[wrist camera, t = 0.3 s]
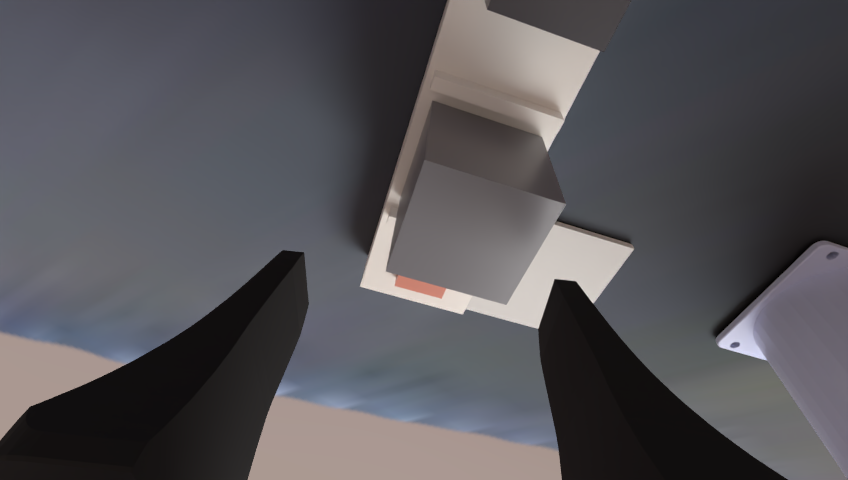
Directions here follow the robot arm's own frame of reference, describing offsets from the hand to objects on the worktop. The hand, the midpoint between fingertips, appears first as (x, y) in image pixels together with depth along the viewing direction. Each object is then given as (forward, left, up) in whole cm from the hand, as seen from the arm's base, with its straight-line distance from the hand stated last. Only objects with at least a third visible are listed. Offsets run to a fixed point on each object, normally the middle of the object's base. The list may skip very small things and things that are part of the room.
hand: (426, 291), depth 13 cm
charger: (-1, -1, -7) cm, 7 cm away
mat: (-8, +5, -10) cm, 13 cm away
